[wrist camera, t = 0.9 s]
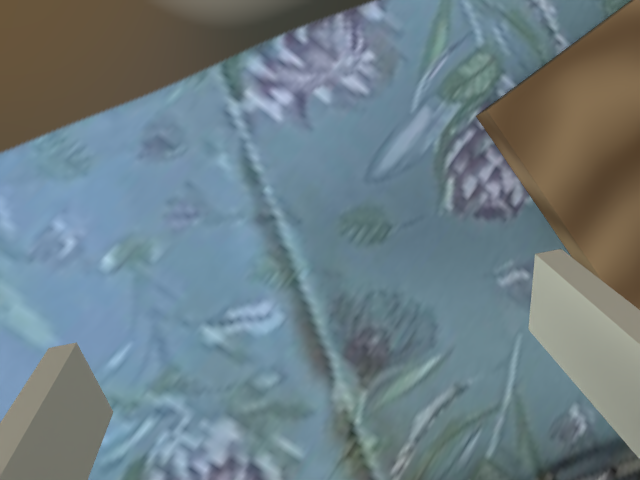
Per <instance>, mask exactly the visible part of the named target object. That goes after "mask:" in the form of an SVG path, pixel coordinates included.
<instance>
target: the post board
mask: <svg viewBox="0 0 640 480" xmlns="http://www.w3.org/2000/svg"><path fill="white" fill-rule="evenodd" d="M476 117H477V118H478V120H479V121H480V123H481V124H482V126H483V127H484V128H485V130H486V131H487V133H488V134H489V136H490V137H491V139H492V140H493V142H494V143H495V145H496V146H497V148H498V149H499V151H500V152H501V153H502V155H503V156H504V158H505V159H506V161H507V162H508V164H509V165H510V167H511V168H512V170H513V171H514V173H515V174H516V175H517V177H518V178H519V180H520V181H521V183H522V184H523V186H524V187H525V189H526V190H527V192H528V193H529V195H530V196H531V198H532V199H533V200H534V202H535V203H536V205H537V206H538V208H539V209H540V211H541V212H542V214H543V215H544V217H545V218H546V220H547V221H548V222H549V224H550V225H551V227H552V228H553V230H554V231H555V233H556V234H557V236H558V237H559V239H560V240H561V242H562V243H563V244H564V246H565V247H566V249H567V250H568V252H569V253H570V255H571V256H572V258H573V259H574V260H576V261H577V262H578V263H580V264H581V265H582V266H584V267H585V268H586V269H587V270H589V271H590V272H591V273H593V274H594V275H595V276H596V277H598V278H599V279H600V280H602V281H603V282H604V283H605V284H607V285H608V286H609V287H611V288H612V289H613V290H615V291H616V292H617V293H618V294H620V295H621V296H622V297H624V298H625V299H626V300H627V301H629V302H630V303H631V304H633V305H634V306H635V307H636V308H638V309H639V310H640V0H631V1H630V2H628V3H627V4H626V5H624V6H623V7H622V8H620V9H619V10H618V11H616V12H615V13H614V14H612V15H611V16H610V17H608V18H607V19H606V20H604V21H603V22H602V23H600V24H599V25H598V26H596V27H595V28H594V29H592V30H591V31H590V32H588V33H587V34H585V35H584V36H583V37H581V38H580V39H579V40H577V41H576V42H575V43H573V44H572V45H571V46H569V47H568V48H567V49H565V50H564V51H563V52H561V53H560V54H559V55H557V56H556V57H555V58H553V59H552V60H551V61H549V62H548V63H547V64H545V65H544V66H543V67H541V68H540V69H539V70H537V71H536V72H535V73H533V74H532V75H531V76H529V77H528V78H527V79H525V80H524V81H523V82H521V83H520V84H519V85H517V86H516V87H514V88H513V89H512V90H510V91H509V92H508V93H506V94H505V95H504V96H502V97H501V98H500V99H498V100H497V101H496V102H494V103H493V104H492V105H490V106H489V107H488V108H486V109H485V110H484V111H482V112H481V113H480V114H478V115H477V116H476Z"/></svg>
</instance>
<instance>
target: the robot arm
mask: <svg viewBox="0 0 640 480" xmlns="http://www.w3.org/2000/svg"><path fill="white" fill-rule="evenodd" d="M529 330H530V331H531V333H532V334H533V335H534V336H535V337H536V338H537V340H538V341H539V342H540V343H541V344H542V346H543V347H544V348H545V349H546V350H547V351H548V353H549V354H550V355H551V356H552V357H553V358H554V360H555V361H556V362H557V363H558V364H559V365H560V367H561V368H562V369H563V370H564V371H565V372H566V374H567V375H568V376H569V377H570V378H571V379H572V381H573V382H574V383H575V384H576V385H577V387H578V388H579V389H580V390H581V391H582V392H583V394H584V395H585V396H586V397H587V398H588V399H589V401H590V402H591V403H592V404H593V405H594V406H595V408H596V409H597V410H598V411H599V412H600V413H601V415H602V416H603V417H604V418H605V419H606V420H607V422H608V423H609V424H610V425H611V426H612V427H613V429H614V430H615V431H616V432H617V433H618V435H619V436H620V437H621V438H622V439H623V440H624V442H625V443H626V444H627V445H628V446H629V447H630V449H631V450H632V451H633V452H634V453H635V454H636V456H637V457H638V458H639V459H640V310H639V309H638V308H636V307H635V306H634V305H633V304H631V303H630V302H629V301H627V300H626V299H625V298H624V297H622V296H621V295H620V294H618V293H617V292H616V291H615V290H613V289H612V288H611V287H609V286H608V285H607V284H605V283H604V282H603V281H602V280H600V279H599V278H598V277H596V276H595V275H594V274H593V273H591V272H590V271H589V270H587V269H586V268H585V267H584V266H582V265H581V264H580V263H578V262H577V261H576V260H574V259H573V258H572V257H571V256H569V255H568V254H567V253H565V252H564V251H563V250H562V249H558V250H553V251H548V252H543V253H538V254H535V262H534V273H533V285H532V296H531V308H530V319H529ZM112 414H113V411H112V409H111V407H110V405H109V403H108V401H107V399H106V397H105V395H104V393H103V392H102V390H101V388H100V386H99V384H98V382H97V380H96V378H95V376H94V374H93V373H92V371H91V369H90V367H89V365H88V363H87V361H86V359H85V357H84V356H83V354H82V352H81V350H80V348H79V346H78V344H77V343H73V344H67V345H62V346H57V347H52V348H49V349H48V350H47V352H46V353H45V355H44V357H43V358H42V360H41V361H40V363H39V364H38V366H37V367H36V369H35V370H34V372H33V373H32V375H31V377H30V378H29V380H28V381H27V383H26V384H25V386H24V387H23V389H22V390H21V392H20V393H19V395H18V397H17V398H16V400H15V401H14V403H13V404H12V406H11V407H10V409H9V410H8V412H7V414H6V415H5V417H4V418H3V420H2V421H1V423H0V480H88V477H89V474H90V472H91V469H92V467H93V464H94V461H95V459H96V456H97V453H98V451H99V448H100V446H101V443H102V440H103V438H104V435H105V432H106V430H107V427H108V425H109V422H110V419H111V417H112Z"/></svg>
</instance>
